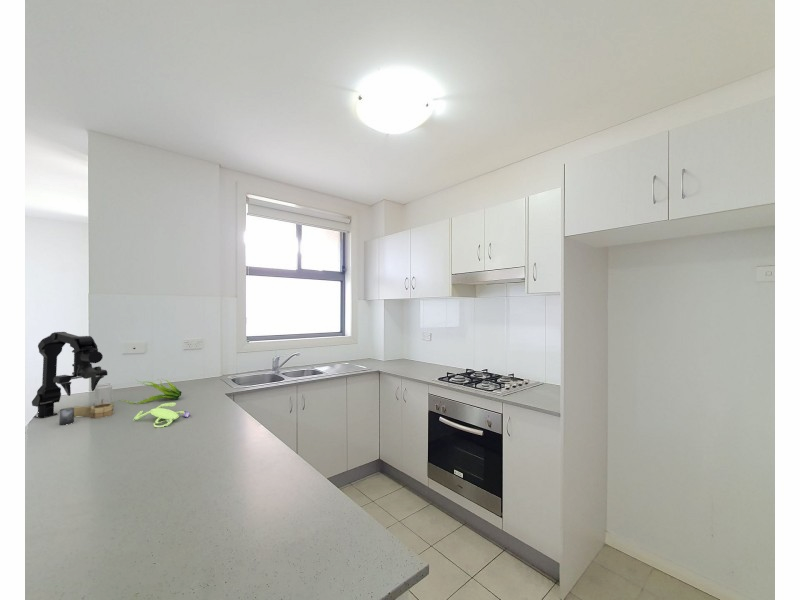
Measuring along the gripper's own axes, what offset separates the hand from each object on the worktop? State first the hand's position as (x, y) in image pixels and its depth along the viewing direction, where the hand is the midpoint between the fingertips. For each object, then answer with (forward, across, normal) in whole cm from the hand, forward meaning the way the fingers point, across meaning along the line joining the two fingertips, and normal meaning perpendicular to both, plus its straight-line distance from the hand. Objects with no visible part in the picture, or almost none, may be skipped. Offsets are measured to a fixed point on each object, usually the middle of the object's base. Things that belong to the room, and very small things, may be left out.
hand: (81, 393), depth 160 cm
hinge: (+15, +10, +7) cm, 19 cm away
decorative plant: (+15, +34, +4) cm, 37 cm away
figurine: (+15, +19, -31) cm, 39 cm away
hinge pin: (+14, -3, +5) cm, 16 cm away
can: (+15, +21, +23) cm, 35 cm away
